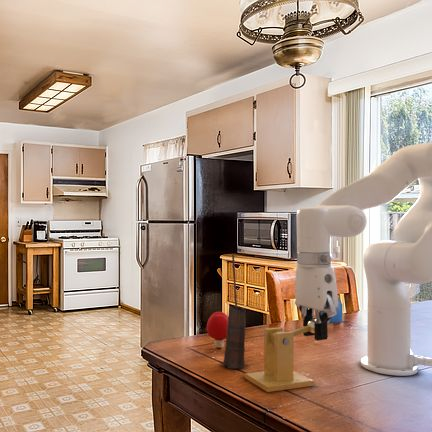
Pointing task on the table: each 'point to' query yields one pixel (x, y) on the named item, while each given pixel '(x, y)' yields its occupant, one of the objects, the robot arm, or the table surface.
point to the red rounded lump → (218, 328)
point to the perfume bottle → (339, 314)
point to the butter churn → (235, 334)
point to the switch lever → (298, 330)
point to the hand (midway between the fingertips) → (315, 336)
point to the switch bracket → (278, 364)
